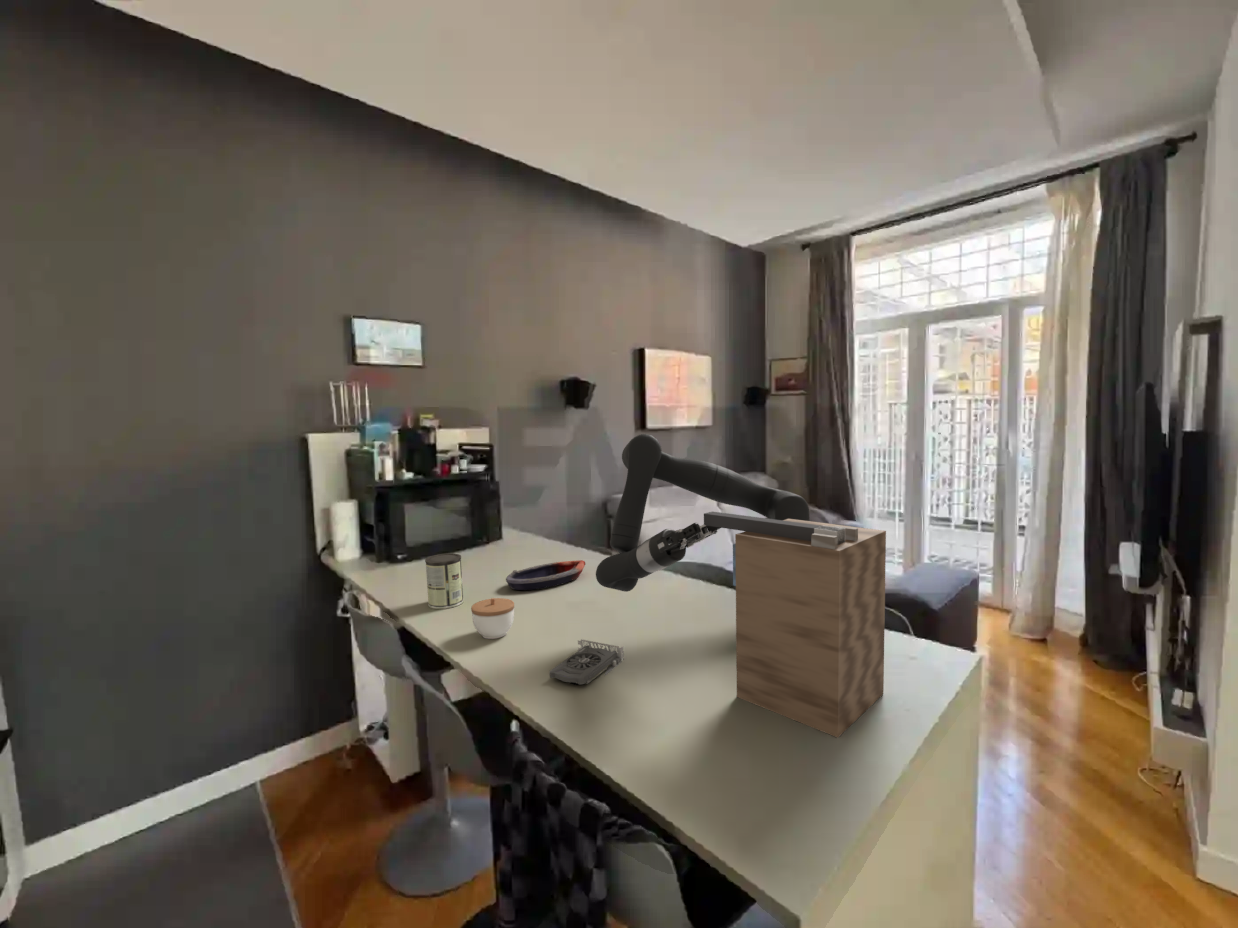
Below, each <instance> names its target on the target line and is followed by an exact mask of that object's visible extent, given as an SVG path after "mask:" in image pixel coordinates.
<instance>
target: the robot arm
mask: <svg viewBox="0 0 1238 928" xmlns="http://www.w3.org/2000/svg"><path fill="white" fill-rule="evenodd" d="M621 460H622V463H623V465H624V467H625V468H626V469H627V475H626V479H625V485H624V488H623V493H622V494H621V499H620V501H619V503H618V507H617V510H616V513H615V517H614V521H613V525H612V529H611V530H612V531H611V535H610V540H609V545H610V547H611V549H613V550H615V551H617V552H618V553H616V554H613V555H609V556H607V557H604V559H603V560H601V561H600V563H599V564H598V565H597V568H596V570H595V578H596V581H597V583H598V584H599V585H600V586H602V587H604V588H608V589H612V590H616V591H620V592H631V591H632V590H633V589H634V588H635V587H636V585H637V583H638V582H639V579H644V578H646V577H648V576H650V575H651V574H653V573H656V572H659V571H662V570H664V569H666V568H668V567H670V566H672V565H674V564H675V563H678V562H680V561H682V560H683V559H684V558H685V556H686V552H687V549H688V548H691V547H693V546H694V545H695V544H697V543H700V542H701V541H703V540H706V539H707V538H709V537H710V536H712V535H713V536H714V535H716V534H717V533H718V530H720V529H721V528H720V527H713V526H707V525H704V524H701V525H700V524H699V522H693V523H691V524H690V525H688V526H686V527H684V528H680V529H677V530H674V529H672V528H666V529H663V530H661V531H660V532H658V533H656V534H655V535H653V536H652V537H651V536H650V538H648V539H646V540H645V541H644V542H642V543H641V544H640V545H639V541H640V535H641V533H642V532H641V531H642V525H643V520H644V516H645V509H646V505H647V501H648V495H649V491H650V488H651V485H652V482H653V479H656V480H659V481H663V482H667V483H670V484H671V485H674V486H676V487H678V488H681V489H683V490H686V491H689V492H691V493H694V494H696V495H699V496H700V497H703V498H705V499H709V500H711V501H715V502H717V503H721V504H724V505H729V506H733V507H741V508H745V509H747V510H751V511H752V512H755V513H757V514H759V515H761V516H763V517H764V518H767V519H775V520H786V519H795V520H803V521H810V509H809V508H810V507H809V504H808V502H807V501H806V499H805V498H804V497H802V496H801V495H799V494H796V493H794V492H791V491H788V490H783V489H777V488H773V487H769V486H765V485H762V484H759V483H758V482H757V483H756V482H754V481H752V480H751V479H749V478H747V477H745V476H743V475H742V474H741V473H738V472H735V471H734V470H732V469H729V468H727V467H724V466H721V465H719V464H716V463H712V462H709V461H706V460H705V461H704V460H700V459H694V458H693V459H692V458H682V457H677V456H674V455H671V454H669V453H667V452H664V451H662V446H661V444H660V442H659V440H658V438H656V437H655V436H653V435H652V434H647V433H645V434H644V433H642V434H638V435H636V436H634V437H633V438H631V439H630V441H629V442H628V443H627V444H626V445H625V447H624V448H623V450H622V453H621Z"/></svg>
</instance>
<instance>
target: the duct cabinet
mask: <svg viewBox="0 0 1238 928" xmlns="http://www.w3.org/2000/svg"><path fill="white" fill-rule="evenodd" d="M783 521H790V522H798V523H806V524H814V525H822V526H831V527H839V528H845V542H844V543H841V544H839V545H838V536H831V535H824V534H817V533H814V534H811V541H806V540H799V539H793V538H786V537H779V536H773V535H766V534H760V533H753V532H746V531H741V532H738V533H735V543H733V544H732V586H734V587H735V636H736V638H735V640H736V641H735V642H736V644H735V645H736V649H735V650H736V651H735V655H736V658H735V659H736V660H735V661H736V698H739V699H741V700H744V701H746V702H748V703H751V704H754V705H755V706H759V707H761V708H762V709H763V708H764V709H766V710H768V711H771V712H773V713H776V714H778V715H781V716H782V717H786V718H788V719H790V720H793V721H796V722H799V723H800V724H803V725H805V726H808V727H811V728H813V729H815V730H818V731H820V732H822V733H825V734H828V735H831V736H833V737H835V738H837V739H838V738H839V737H840V736H841V735H843V734H844V733H845V732H846V731H847V730H848V729H849V728H850V727H851V726H852V725H853V724H854V723H855V722H856V721H857V720H858V719H859V718H860V717H861V716H862V715H863V714H865V712H867V710H869V708H870V707H872V706H873V705H874V704H875V703H876V702H877V701H878V700H879V699H880V698H881V697H882V696H883V695H884V683H885V681H884V679H885V677H884V675H885V672H884V671H885V621H886V620H885V618H886V616H885V613H886V610H885V609H886V557H887V556H886V554H887V553H886V551H887V550H886V548H887V546H886V544H887V530H882V529H876V528H868V527H867V528H866V527H858V526H852V525H851V526H850V525H844V524H843V525H842V524H834V523H829V522H828V523H827V522H819V521H810V520H809V521H803V520H795V519H786V520H783Z"/></svg>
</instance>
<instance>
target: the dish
mask: <svg viewBox="0 0 1238 928" xmlns="http://www.w3.org/2000/svg"><path fill="white" fill-rule="evenodd" d="M585 567H586V561H585V560H583V559H582V560H581V559H580V560H579V559H578V560H568V561H567V560H566V561H558V562H557V561H556V562H549V563H544V564H538V565H534V566H531V567H526V568H522V569H519V570H517V569H515V570H512V572H511V573H510V574H508V575H507V576H506V577H505V582H506V583H507V585H508V586H509V587H510V588H511V589H513V590H518V591H532V590H541V589H547V588H552V587H556V586H559V585H563V584H567V583H570V582H572V581H574V580H576V579H578V578H579V577H580V575H581V574H582V572H583V570H584V568H585Z"/></svg>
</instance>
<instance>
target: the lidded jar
mask: <svg viewBox="0 0 1238 928" xmlns="http://www.w3.org/2000/svg"><path fill="white" fill-rule="evenodd" d="M470 610H471V617H472V623H473V626H474V628H475V630H476V632H478V634H480V636H482V638H484V639H489V640H494V639H500V638H503V637H504V636H506V635H507V633H508V632H509V631H510V629H511V628H512V626H513V624H514V619H515V602H514V601H513V600H512V599H509V598H504V597H503V598H502V597H501V598H499V597H491V598H488V599H483V600H479V601H477V602H475V603H473V604H472V605H471V608H470Z"/></svg>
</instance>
